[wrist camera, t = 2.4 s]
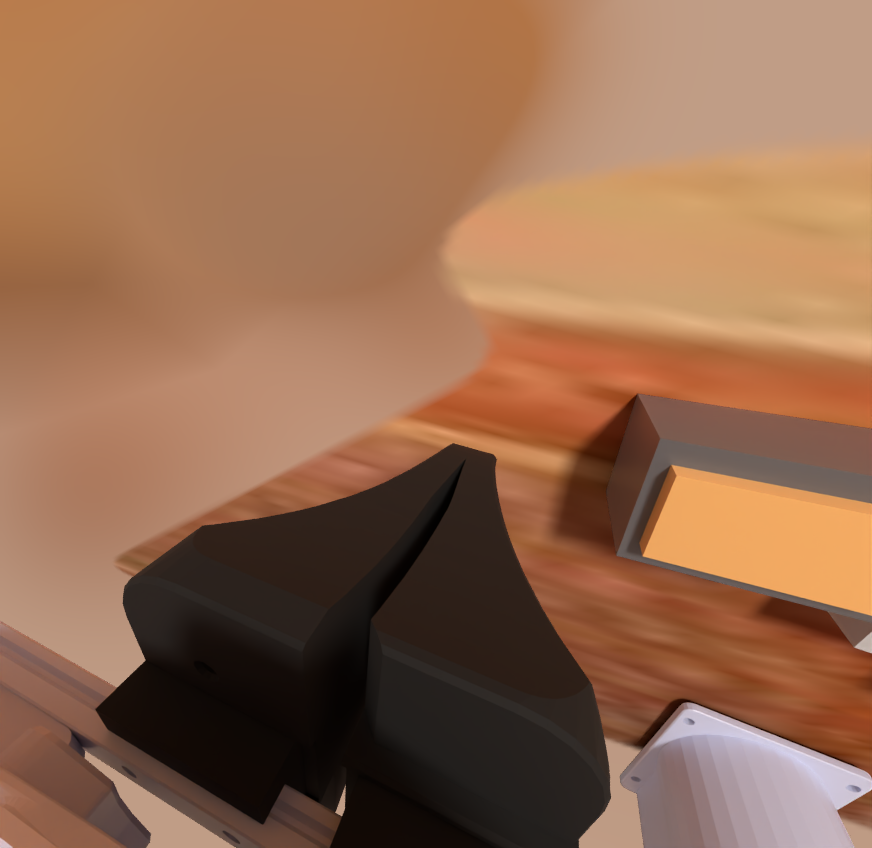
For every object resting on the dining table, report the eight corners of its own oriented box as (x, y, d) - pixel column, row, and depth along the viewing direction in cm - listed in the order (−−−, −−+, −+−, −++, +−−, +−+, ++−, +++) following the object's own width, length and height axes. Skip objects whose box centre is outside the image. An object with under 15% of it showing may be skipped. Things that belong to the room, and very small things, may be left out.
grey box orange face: (801, 532, 14) (897, 644, 10) (605, 489, 15) (618, 568, 11) (871, 427, 12) (1027, 514, 8) (636, 392, 13) (665, 448, 9)
